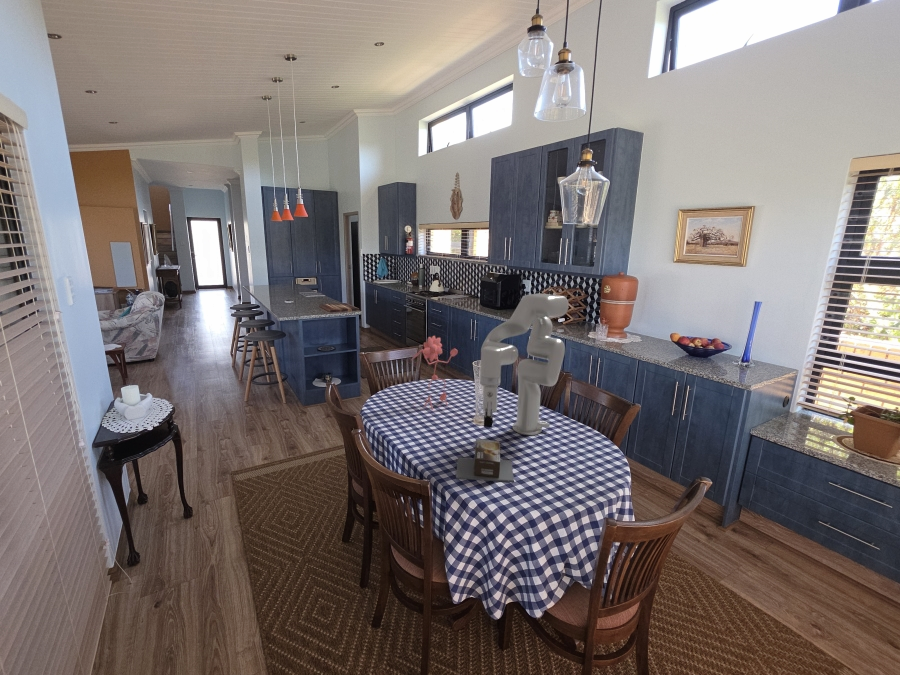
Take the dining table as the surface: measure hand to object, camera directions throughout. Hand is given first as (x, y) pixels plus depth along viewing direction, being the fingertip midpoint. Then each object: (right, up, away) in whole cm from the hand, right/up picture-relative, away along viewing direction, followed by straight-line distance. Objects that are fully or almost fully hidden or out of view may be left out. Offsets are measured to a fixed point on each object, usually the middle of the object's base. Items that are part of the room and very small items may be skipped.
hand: (487, 426), depth 166 cm
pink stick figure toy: (-24, 0, +54) cm, 59 cm away
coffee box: (0, -8, +1) cm, 9 cm away
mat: (-2, -14, -8) cm, 16 cm away
